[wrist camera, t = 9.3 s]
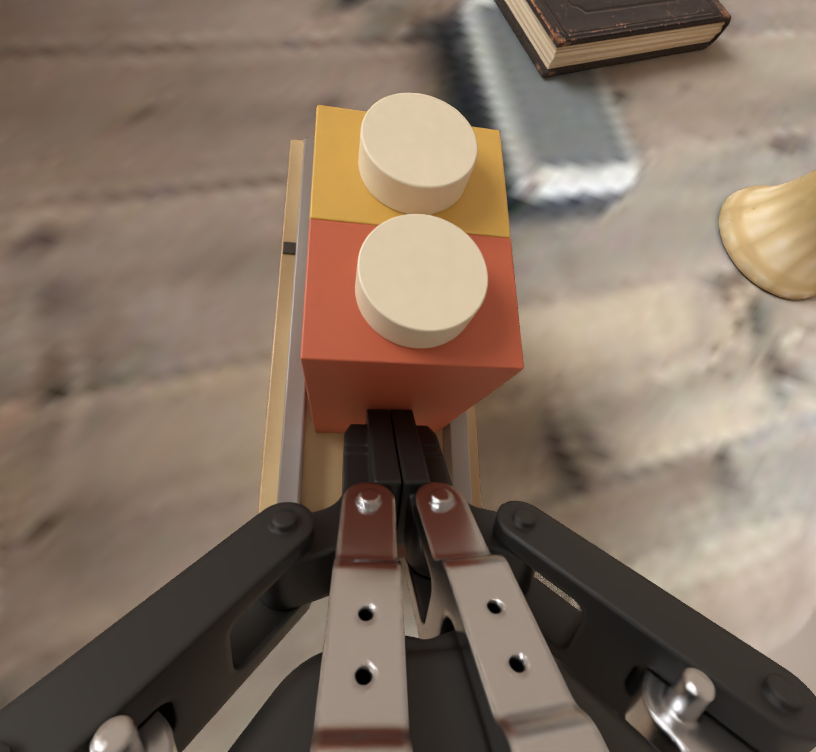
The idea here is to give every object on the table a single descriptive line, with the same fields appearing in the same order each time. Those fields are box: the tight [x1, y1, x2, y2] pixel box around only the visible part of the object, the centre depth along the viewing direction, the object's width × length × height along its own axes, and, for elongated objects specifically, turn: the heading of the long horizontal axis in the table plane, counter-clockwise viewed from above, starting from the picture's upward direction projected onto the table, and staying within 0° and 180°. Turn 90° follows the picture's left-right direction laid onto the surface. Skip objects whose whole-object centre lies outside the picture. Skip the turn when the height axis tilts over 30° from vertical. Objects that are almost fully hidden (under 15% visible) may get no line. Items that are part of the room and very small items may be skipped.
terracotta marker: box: [300, 214, 524, 433], centre depth 14 cm, size 5×4×10 cm
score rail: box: [258, 138, 482, 558], centre depth 20 cm, size 9×20×3 cm, turn 1°
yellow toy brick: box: [309, 93, 510, 239], centre depth 15 cm, size 5×4×10 cm
